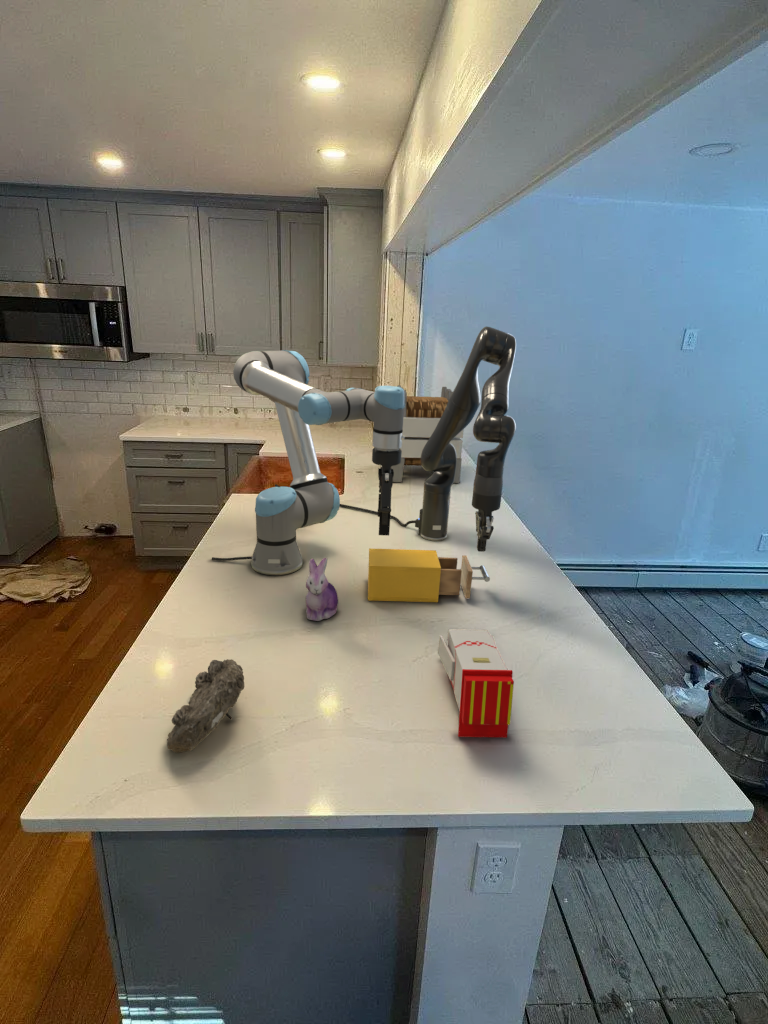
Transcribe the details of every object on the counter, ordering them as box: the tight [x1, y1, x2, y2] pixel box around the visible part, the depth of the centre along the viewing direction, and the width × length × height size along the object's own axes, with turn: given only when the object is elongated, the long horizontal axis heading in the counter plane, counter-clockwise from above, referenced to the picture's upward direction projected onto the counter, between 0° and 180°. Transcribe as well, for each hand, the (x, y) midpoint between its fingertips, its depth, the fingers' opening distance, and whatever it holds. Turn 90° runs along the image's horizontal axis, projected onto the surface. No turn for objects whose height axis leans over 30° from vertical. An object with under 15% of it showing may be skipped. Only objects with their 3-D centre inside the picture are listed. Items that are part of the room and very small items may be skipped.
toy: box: [437, 628, 515, 738], centre depth 117 cm, size 12×13×30 cm
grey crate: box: [391, 384, 465, 484], centre depth 268 cm, size 34×33×41 cm
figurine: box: [305, 557, 339, 622], centre depth 144 cm, size 9×10×15 cm
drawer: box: [438, 554, 491, 600], centre depth 158 cm, size 23×10×8 cm, turn 92°
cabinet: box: [367, 547, 441, 603], centre depth 158 cm, size 19×12×10 cm, turn 92°
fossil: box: [166, 658, 245, 754], centre depth 106 cm, size 22×10×15 cm
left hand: (383, 525), depth 152 cm, fingers open, 13 cm apart
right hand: (480, 550), depth 156 cm, fingers closed
